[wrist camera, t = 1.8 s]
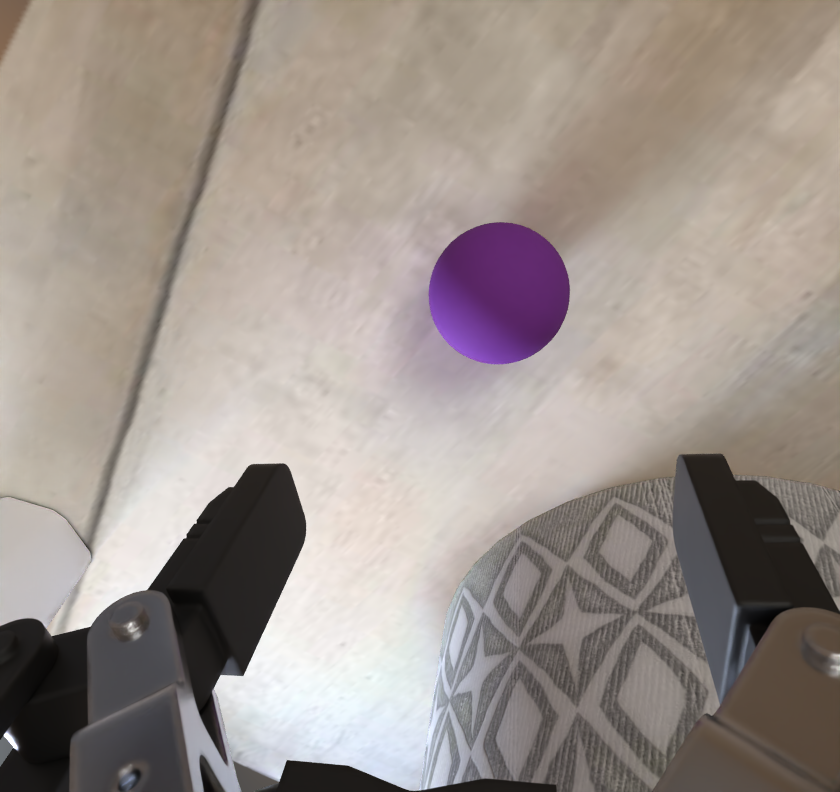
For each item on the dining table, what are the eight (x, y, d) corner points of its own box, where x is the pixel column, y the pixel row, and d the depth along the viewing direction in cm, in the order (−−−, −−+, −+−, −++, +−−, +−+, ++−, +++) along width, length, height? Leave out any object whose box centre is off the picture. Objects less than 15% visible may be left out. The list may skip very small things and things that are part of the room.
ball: (446, 334, 26) (429, 393, 22) (430, 215, 24) (407, 254, 19) (568, 325, 25) (575, 385, 21) (564, 199, 22) (572, 237, 18)
